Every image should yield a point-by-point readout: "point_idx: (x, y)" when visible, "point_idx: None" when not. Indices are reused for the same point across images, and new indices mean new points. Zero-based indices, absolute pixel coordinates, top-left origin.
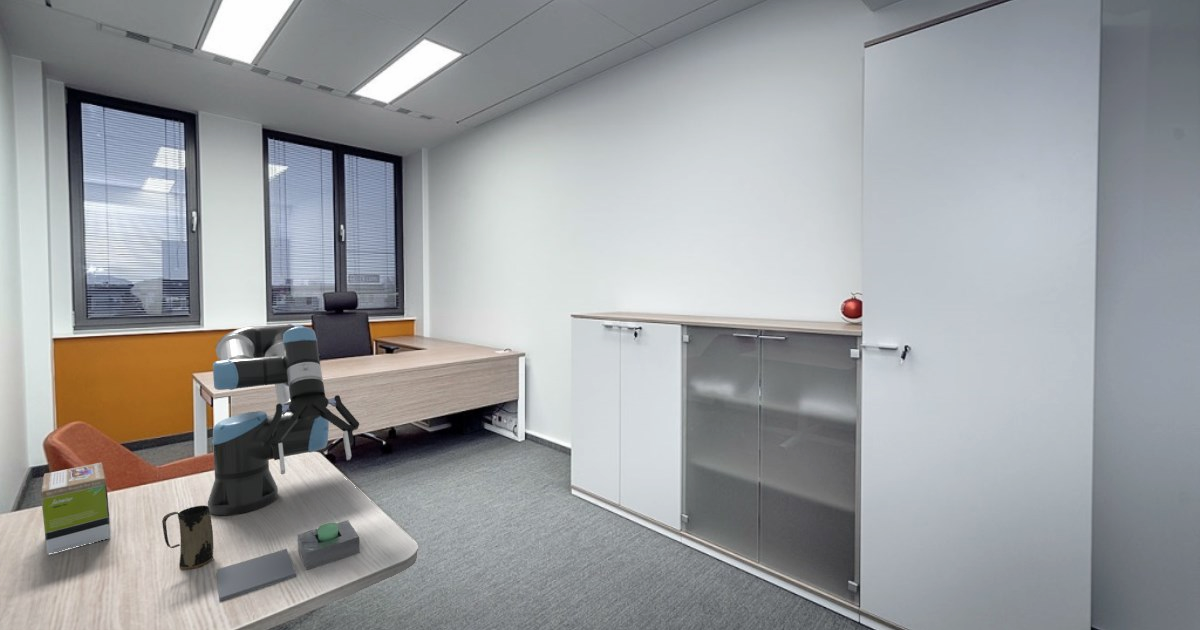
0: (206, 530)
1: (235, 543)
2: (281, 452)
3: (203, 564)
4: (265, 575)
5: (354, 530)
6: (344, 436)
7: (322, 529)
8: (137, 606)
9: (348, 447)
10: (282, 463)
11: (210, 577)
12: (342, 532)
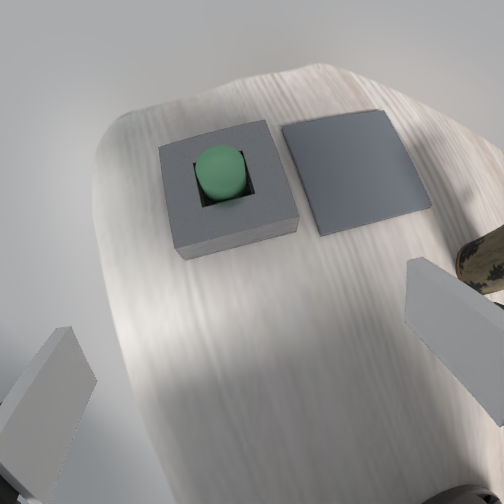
0: (498, 233)
1: None
2: (485, 309)
3: (462, 247)
4: (335, 140)
5: (164, 179)
6: (15, 431)
7: (232, 154)
8: (483, 159)
9: (39, 358)
10: (438, 273)
11: (431, 194)
12: (190, 180)
